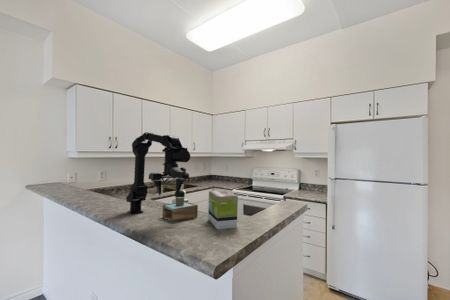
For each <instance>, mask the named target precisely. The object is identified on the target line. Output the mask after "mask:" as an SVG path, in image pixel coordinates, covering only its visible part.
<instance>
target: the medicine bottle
mask: <svg viewBox="0 0 450 300" xmlns="http://www.w3.org/2000/svg"><path fill="white" fill-rule="evenodd" d="M186 195H187V193H186V191H185V190H184V189H180V190H179V193H177V192H176V190H175V192H174V198H172V199H171V204H172V203H176V197H183V198H184V202H189V199H187V198H186Z"/></svg>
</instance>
